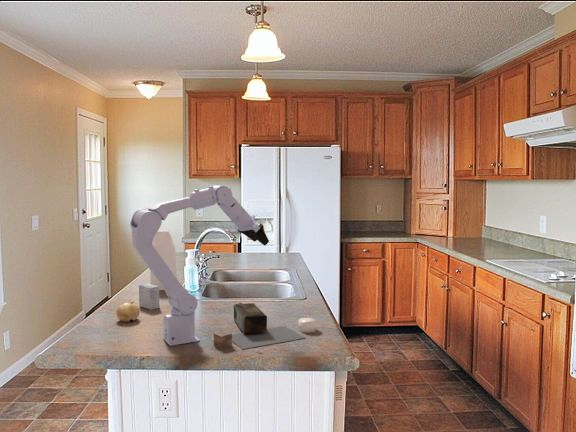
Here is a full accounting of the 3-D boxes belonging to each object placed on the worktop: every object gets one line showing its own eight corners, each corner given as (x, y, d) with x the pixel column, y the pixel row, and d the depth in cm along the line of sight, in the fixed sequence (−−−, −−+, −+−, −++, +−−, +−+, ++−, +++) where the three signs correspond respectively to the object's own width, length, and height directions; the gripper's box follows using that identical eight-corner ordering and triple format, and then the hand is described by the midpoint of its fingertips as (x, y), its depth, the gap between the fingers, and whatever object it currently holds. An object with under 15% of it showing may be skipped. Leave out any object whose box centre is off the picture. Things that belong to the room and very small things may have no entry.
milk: (174, 283, 242) (173, 229, 240) (177, 288, 231) (176, 232, 229) (148, 285, 238) (147, 230, 236) (150, 290, 227) (148, 233, 225)
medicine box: (159, 308, 199) (159, 286, 198) (149, 310, 196) (149, 288, 195) (148, 304, 204) (148, 283, 204) (139, 306, 201) (138, 284, 200)
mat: (242, 349, 153) (242, 349, 153) (225, 336, 165) (225, 335, 165) (305, 338, 164) (305, 337, 164) (284, 326, 176) (284, 325, 176)
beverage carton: (254, 318, 185) (254, 300, 185) (268, 334, 167) (267, 314, 167) (233, 320, 183) (233, 302, 183) (244, 336, 165) (244, 316, 164)
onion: (138, 323, 179) (137, 303, 179) (114, 324, 178) (114, 304, 177) (140, 316, 187) (140, 298, 187) (118, 317, 186) (118, 298, 185)
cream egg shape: (304, 334, 168) (304, 323, 168) (295, 329, 174) (295, 319, 173) (319, 331, 171) (319, 321, 171) (310, 326, 176) (310, 316, 176)
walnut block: (221, 349, 154) (221, 336, 153) (213, 346, 157) (213, 333, 156) (232, 346, 157) (231, 333, 156) (224, 343, 159) (224, 330, 159)
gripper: (254, 207, 163) (279, 236, 169) (236, 203, 176) (259, 229, 182) (240, 223, 162) (265, 251, 167) (222, 217, 174) (246, 244, 180)
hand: (261, 241), depth 175 cm, fingers open, 7 cm apart
